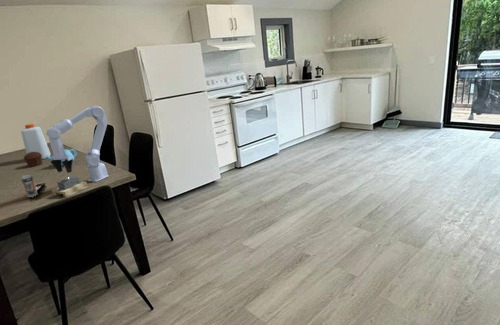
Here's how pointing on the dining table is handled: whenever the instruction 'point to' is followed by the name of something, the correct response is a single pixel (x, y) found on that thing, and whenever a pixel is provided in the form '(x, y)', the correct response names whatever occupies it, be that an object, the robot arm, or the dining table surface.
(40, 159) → the muffin
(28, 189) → the beer can
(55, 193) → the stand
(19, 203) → the dining table surface
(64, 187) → the housing
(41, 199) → the dining table surface
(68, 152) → the teapot
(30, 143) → the plastic bottle
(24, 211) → the dining table surface
